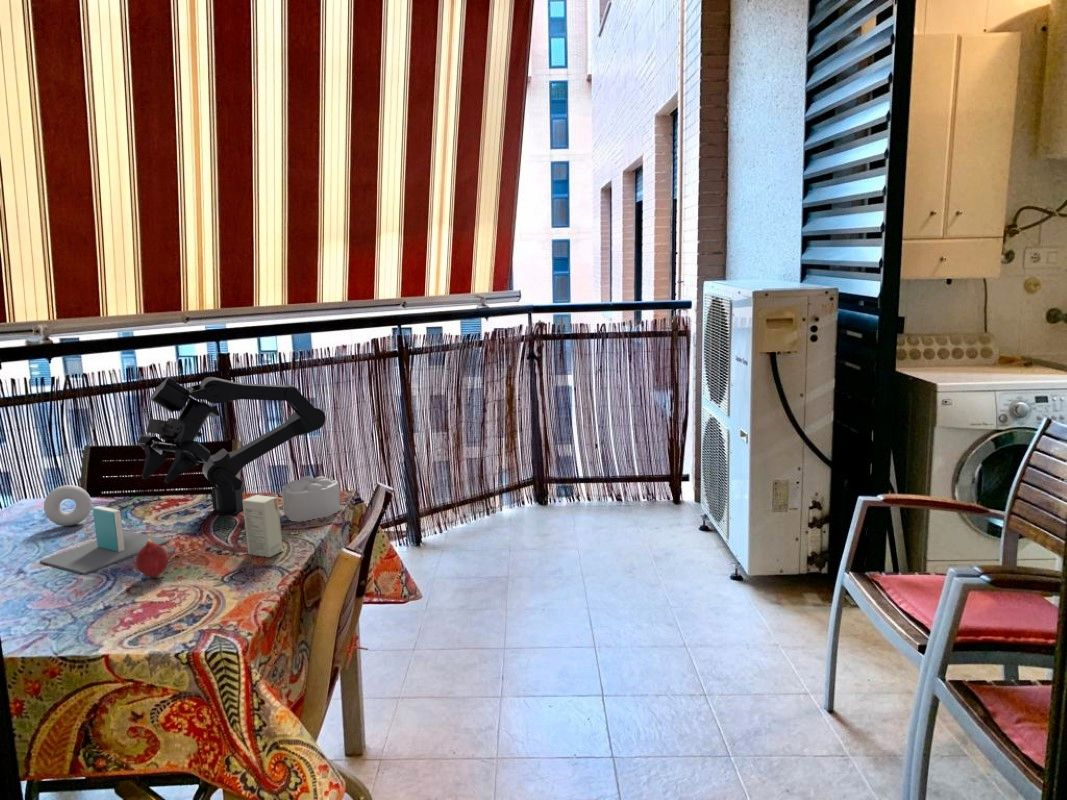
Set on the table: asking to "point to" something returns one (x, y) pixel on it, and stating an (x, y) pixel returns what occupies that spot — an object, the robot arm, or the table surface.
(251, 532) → the skincare box
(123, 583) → the table surface
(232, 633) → the table surface
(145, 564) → the onion
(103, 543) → the tile
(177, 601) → the table surface
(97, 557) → the mat
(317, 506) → the lumpy-topped squat cylinder
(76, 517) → the donut
